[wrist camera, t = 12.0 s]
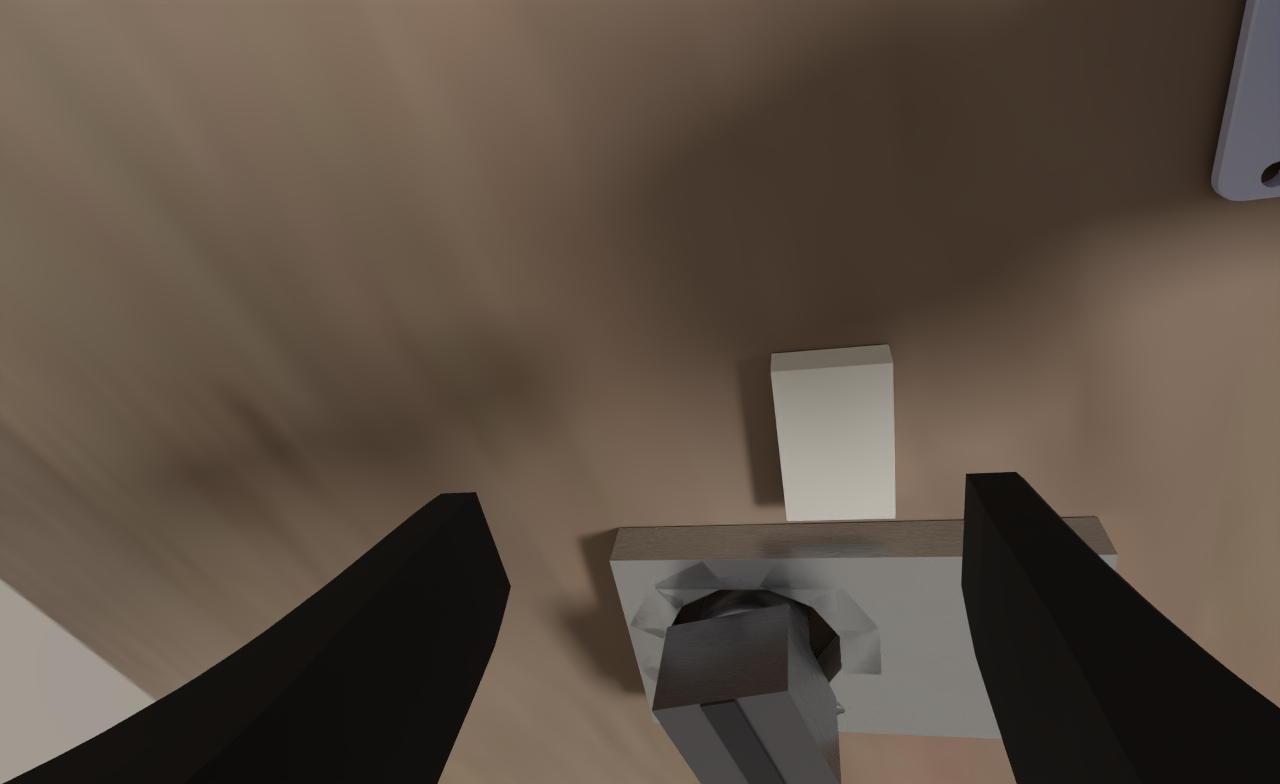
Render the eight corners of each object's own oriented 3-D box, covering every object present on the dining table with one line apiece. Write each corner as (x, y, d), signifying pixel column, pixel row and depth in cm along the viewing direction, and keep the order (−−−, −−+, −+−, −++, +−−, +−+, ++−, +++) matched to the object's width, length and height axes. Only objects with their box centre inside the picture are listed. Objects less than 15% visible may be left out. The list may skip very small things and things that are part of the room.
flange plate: (1097, 517, 20) (1120, 560, 19) (1068, 701, 24) (1085, 748, 23) (619, 528, 24) (608, 565, 22) (660, 688, 28) (653, 728, 26)
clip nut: (788, 555, 23) (787, 694, 19) (833, 647, 25) (841, 792, 21) (675, 580, 25) (651, 713, 20) (725, 665, 26) (712, 803, 22)
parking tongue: (888, 344, 19) (893, 362, 18) (891, 495, 21) (895, 518, 20) (771, 353, 20) (770, 371, 19) (786, 498, 22) (786, 520, 21)
